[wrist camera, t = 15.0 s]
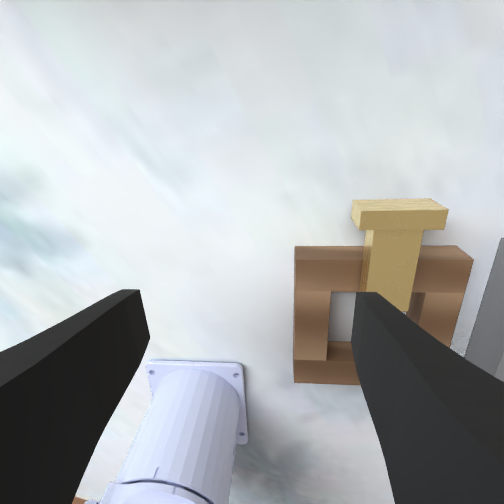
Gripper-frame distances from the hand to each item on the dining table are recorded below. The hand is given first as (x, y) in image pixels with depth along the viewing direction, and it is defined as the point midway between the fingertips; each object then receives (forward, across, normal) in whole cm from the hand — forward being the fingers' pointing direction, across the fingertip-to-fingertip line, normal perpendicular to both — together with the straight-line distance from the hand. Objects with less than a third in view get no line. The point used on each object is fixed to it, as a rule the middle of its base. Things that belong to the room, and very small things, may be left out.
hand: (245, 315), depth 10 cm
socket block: (+10, -7, +7) cm, 14 cm away
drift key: (+8, -7, +1) cm, 11 cm away
